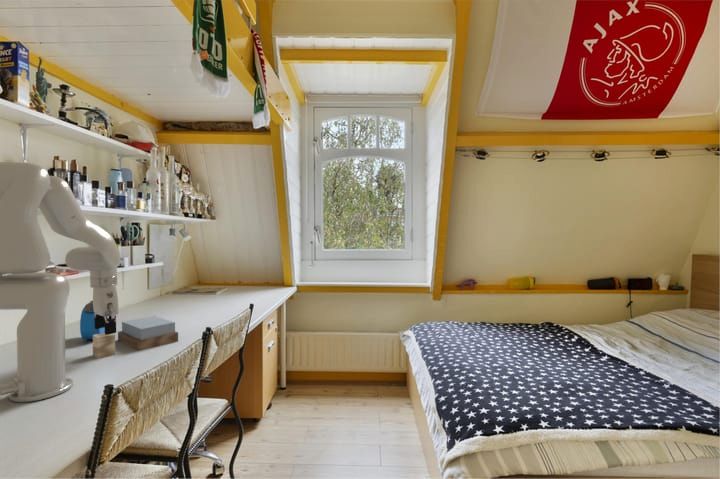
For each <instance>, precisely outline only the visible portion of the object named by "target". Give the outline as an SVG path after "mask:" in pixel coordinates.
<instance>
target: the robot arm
mask: <svg viewBox="0 0 720 479" xmlns="http://www.w3.org/2000/svg"><path fill="white" fill-rule="evenodd" d="M38 211H40V212H41V213H42V215H43V217H44V218H45V220H46V222H47V224H48V225H49V227H50V229H51V230H52V231H53V232H54V233H56V234H58V235H60V236H64V237H65V238H67V239H68V238H69V239H73V240H75V241H78V242H81V243H84V244H87V245H89V246H88V247H87V246H80V247H75V248H72V249H70V250H69V251H68V252H67V253H66V254H65V258H64V263H65V264H66V266H67V268H69V269H71V270H73V271H80V272H81V271H84V272H85V271H86V272H87V271H88V272H89V283H90V285H89V287H90V288H91V289H92V288H93V290H92V300H93V310H94V312H95V314H94V317H96V318H94V322H95V329H99V328H104V327H105V335H108V334H116V333H117V315H118V314H119V313H120V312H119V311H120V310H119V298H118V297H119V296H118V292H117V291H118V290H117V286H118V267H119V266H120V263H121V261H122V260H121V258H122V256H121V252H120V250H119V247H118V245H117V242H116V241H115V239H114V238H113V236H112V235H111V234H110V233H109V232H107V231H106V230H105V229H104V228H102V227H101V226H99V225H98V224H97V223H95V222H92V221H91V220H89V218H86V215H85V214H84V212H83V210H82V207H80V204H79V203H78V200H77V198H76V196H75V194H74V192H73V191H72V189H71V187H70V185H69V184H68V182H67V181H66V180H65V179H64V178H62V177H59V176H54V175H50V174H49V173H48V171H47V169H45V167H43V166H40V164H34V163H28V162H16V161H15V162H14V161H0V310H2V311H3V310H5V311H7V310H8V311H9V310H26V313H25V314H24V316H23V317H22V318H21V320H20V321H19V323H18V325H17V328H16V352H17V353H16V355H17V356H16V357H17V358H16V361H17V362H16V364H17V365H16V366H17V368H16V369H17V371H16V372H17V373H16V374H17V377H14V378H13V381H9V382H8V383H7V384H2V385H0V396H5V395H8V399H9V400H10V401H12V402H16V403H27V402H35V401H40V400H44V399H49V398H53V397H55V396H57V395H61V394H63V393H65V392H67V391H68V390H70V389H71V388H72V387H73V385H74V381H73V379H71V378H70V377H67V375H66V368H67V367H66V309H67V305H68V304H67V302H68V299H69V295H70V284H69V280H68V278H66V277H65V276H63V275H61V274H59V273H54V272H45V271H44V270H45V269H47V268H48V267H49V265H50V262H51V255H50V251H49V248H48V245H47V242H46V239H45V237H44V235H43V232H42V228H41V226H40V223H39V219H38ZM90 246H91V247H90ZM41 271H42V272H41ZM43 271H44V272H43Z"/></svg>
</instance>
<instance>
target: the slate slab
mask: <svg viewBox="0 0 720 479" xmlns="http://www.w3.org/2000/svg"><path fill="white" fill-rule="evenodd" d="M121 331H122V332H124V333H126V334H128V335H131V336H133V337H135V338H138V339H140V340H144V339H149V338H153V337H158V336H162V335H167V334H171V333H175V332H176V322H175V321H172V320H169V319H166V318H162V317H160V316H156V315H153V316H147V317H140V318H136V319H135V318H134V319H130V320H124V321H121Z"/></svg>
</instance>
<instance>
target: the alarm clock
mask: <svg viewBox="0 0 720 479" xmlns="http://www.w3.org/2000/svg"><path fill="white" fill-rule="evenodd" d="M94 314H95V312H94V310H93V299H92V300H91V301H90V302H87V303H86V304H85V305H84V307H83V308H82V310H81V313H80V321H79V331H80V337H81V338H82V340H84V342H87V340H88V341H89V340H93V335H96V334H101V333H105V327H104V328H99V329H95V322H94V318H96V317H94Z"/></svg>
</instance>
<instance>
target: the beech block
mask: <svg viewBox="0 0 720 479" xmlns="http://www.w3.org/2000/svg"><path fill="white" fill-rule="evenodd" d="M115 355H116V333H113V334H108V335H105V333H101V334H96V335H93V339H92V356H94V357H95V358H96V359H102V358H106V357H111V356H115Z"/></svg>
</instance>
